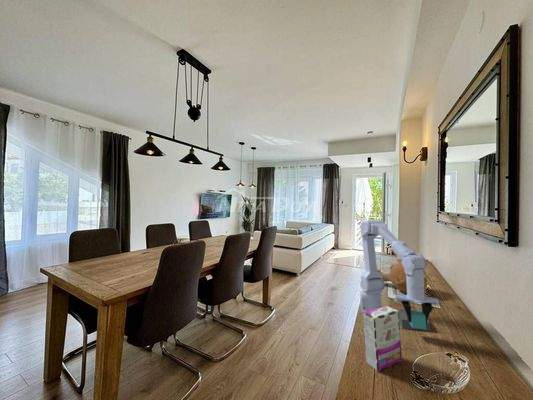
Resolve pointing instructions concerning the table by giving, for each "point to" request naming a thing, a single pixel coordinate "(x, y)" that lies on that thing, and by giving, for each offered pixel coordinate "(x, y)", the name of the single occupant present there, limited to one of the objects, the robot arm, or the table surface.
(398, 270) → the jug
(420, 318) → the teal block
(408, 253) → the robot arm
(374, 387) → the table surface
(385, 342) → the candy bar box
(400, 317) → the block
